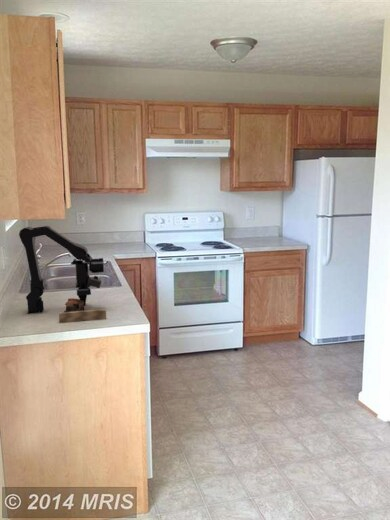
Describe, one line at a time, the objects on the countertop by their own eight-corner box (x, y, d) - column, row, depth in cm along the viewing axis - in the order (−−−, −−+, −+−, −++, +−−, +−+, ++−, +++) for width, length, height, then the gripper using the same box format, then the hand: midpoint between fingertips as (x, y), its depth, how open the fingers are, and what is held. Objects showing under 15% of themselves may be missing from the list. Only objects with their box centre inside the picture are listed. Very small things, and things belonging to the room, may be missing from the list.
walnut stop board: (59, 322, 204) (58, 313, 203) (59, 321, 206) (58, 312, 205) (106, 318, 209) (105, 310, 208) (105, 317, 211) (105, 308, 210)
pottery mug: (58, 315, 216) (62, 298, 219) (76, 320, 222) (79, 303, 225) (73, 313, 208) (76, 295, 210) (90, 319, 214) (94, 301, 217)
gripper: (101, 276, 214) (102, 309, 216) (98, 268, 231) (99, 299, 234) (75, 278, 211) (78, 311, 214) (74, 269, 228) (76, 300, 231)
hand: (84, 305), depth 223 cm, fingers closed
